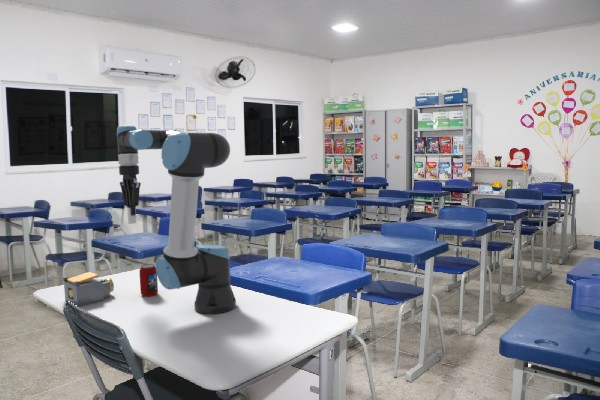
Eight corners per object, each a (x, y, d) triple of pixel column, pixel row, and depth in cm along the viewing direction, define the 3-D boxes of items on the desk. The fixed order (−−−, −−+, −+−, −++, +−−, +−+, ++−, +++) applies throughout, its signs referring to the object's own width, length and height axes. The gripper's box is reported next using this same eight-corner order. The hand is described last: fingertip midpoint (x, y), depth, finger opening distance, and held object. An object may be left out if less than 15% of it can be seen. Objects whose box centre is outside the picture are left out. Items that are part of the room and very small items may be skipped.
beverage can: (155, 296, 195) (153, 267, 194) (138, 297, 195) (136, 267, 194) (160, 292, 202) (158, 263, 201) (144, 292, 202) (142, 264, 201)
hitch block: (113, 298, 195) (111, 274, 194) (77, 307, 184) (75, 282, 183) (99, 292, 203) (98, 270, 202) (64, 301, 193) (62, 277, 192)
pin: (107, 290, 202) (107, 277, 202) (114, 292, 198) (113, 279, 198) (68, 299, 191) (67, 285, 190) (74, 302, 187) (73, 288, 186)
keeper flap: (98, 276, 192) (97, 274, 192) (75, 284, 186) (75, 282, 185) (89, 273, 197) (89, 271, 197) (67, 281, 191) (66, 279, 191)
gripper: (145, 164, 193) (149, 223, 195) (129, 164, 202) (133, 220, 204) (127, 165, 187) (131, 225, 190) (112, 165, 196) (115, 223, 199)
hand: (132, 223), depth 197 cm, fingers closed
